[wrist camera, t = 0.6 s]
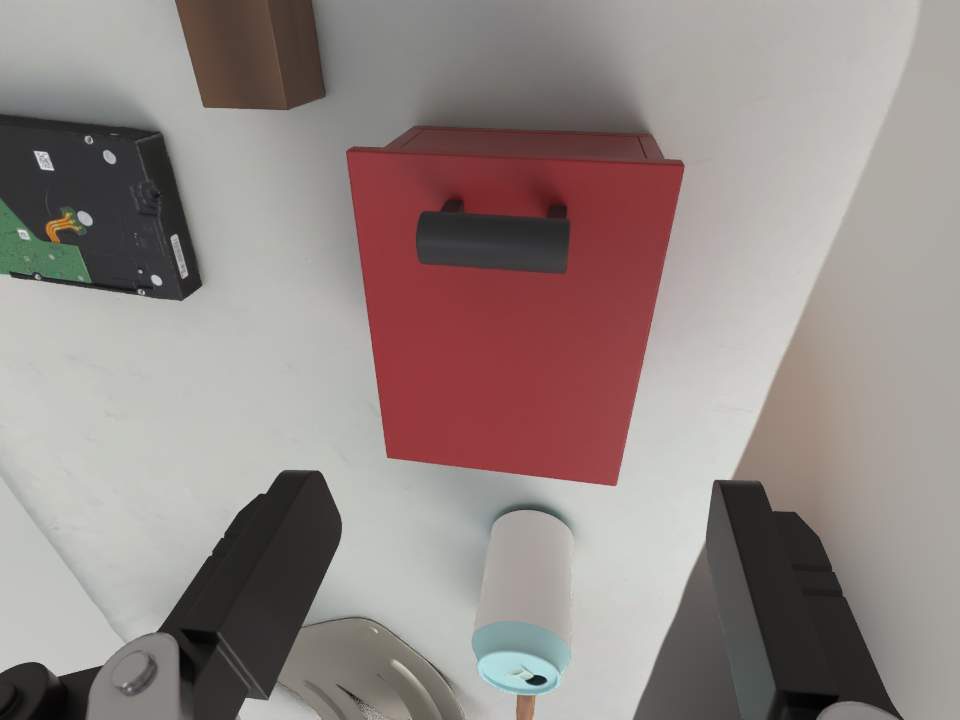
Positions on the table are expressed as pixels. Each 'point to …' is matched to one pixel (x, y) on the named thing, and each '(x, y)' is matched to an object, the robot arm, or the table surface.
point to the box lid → (510, 302)
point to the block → (253, 52)
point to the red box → (530, 142)
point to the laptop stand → (365, 674)
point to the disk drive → (92, 209)
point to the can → (525, 604)
